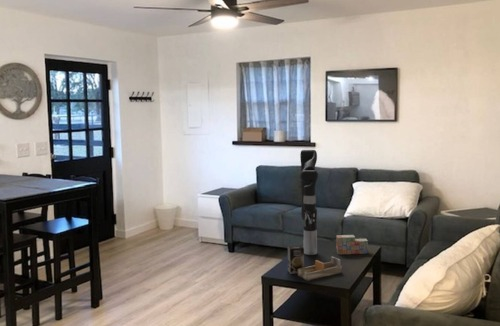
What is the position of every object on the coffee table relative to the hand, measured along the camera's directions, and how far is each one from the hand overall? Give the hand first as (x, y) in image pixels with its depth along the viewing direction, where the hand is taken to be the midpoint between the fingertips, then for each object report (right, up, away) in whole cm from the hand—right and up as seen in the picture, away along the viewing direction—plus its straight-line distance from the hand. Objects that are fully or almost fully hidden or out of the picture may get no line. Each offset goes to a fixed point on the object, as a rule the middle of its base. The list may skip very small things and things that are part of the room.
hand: (309, 227), depth 293 cm
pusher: (+6, -28, -2) cm, 28 cm away
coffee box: (-8, -29, +4) cm, 30 cm away
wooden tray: (+6, -29, -1) cm, 29 cm away
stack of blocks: (+35, -23, +40) cm, 58 cm away
